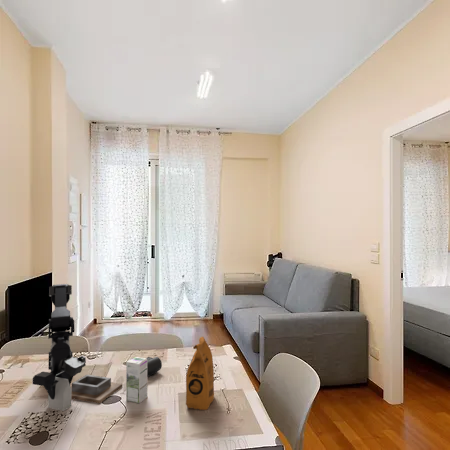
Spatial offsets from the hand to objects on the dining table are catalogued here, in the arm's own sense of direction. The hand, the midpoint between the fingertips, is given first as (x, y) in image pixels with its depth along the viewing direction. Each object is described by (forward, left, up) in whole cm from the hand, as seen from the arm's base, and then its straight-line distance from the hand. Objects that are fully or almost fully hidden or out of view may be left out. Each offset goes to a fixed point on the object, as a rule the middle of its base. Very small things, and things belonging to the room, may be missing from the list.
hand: (59, 395), depth 121 cm
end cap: (+16, +33, -4) cm, 37 cm away
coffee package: (+46, +18, -4) cm, 50 cm away
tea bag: (0, 0, -4) cm, 4 cm away
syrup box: (+23, +13, -4) cm, 27 cm away
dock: (+3, +13, -4) cm, 14 cm away
